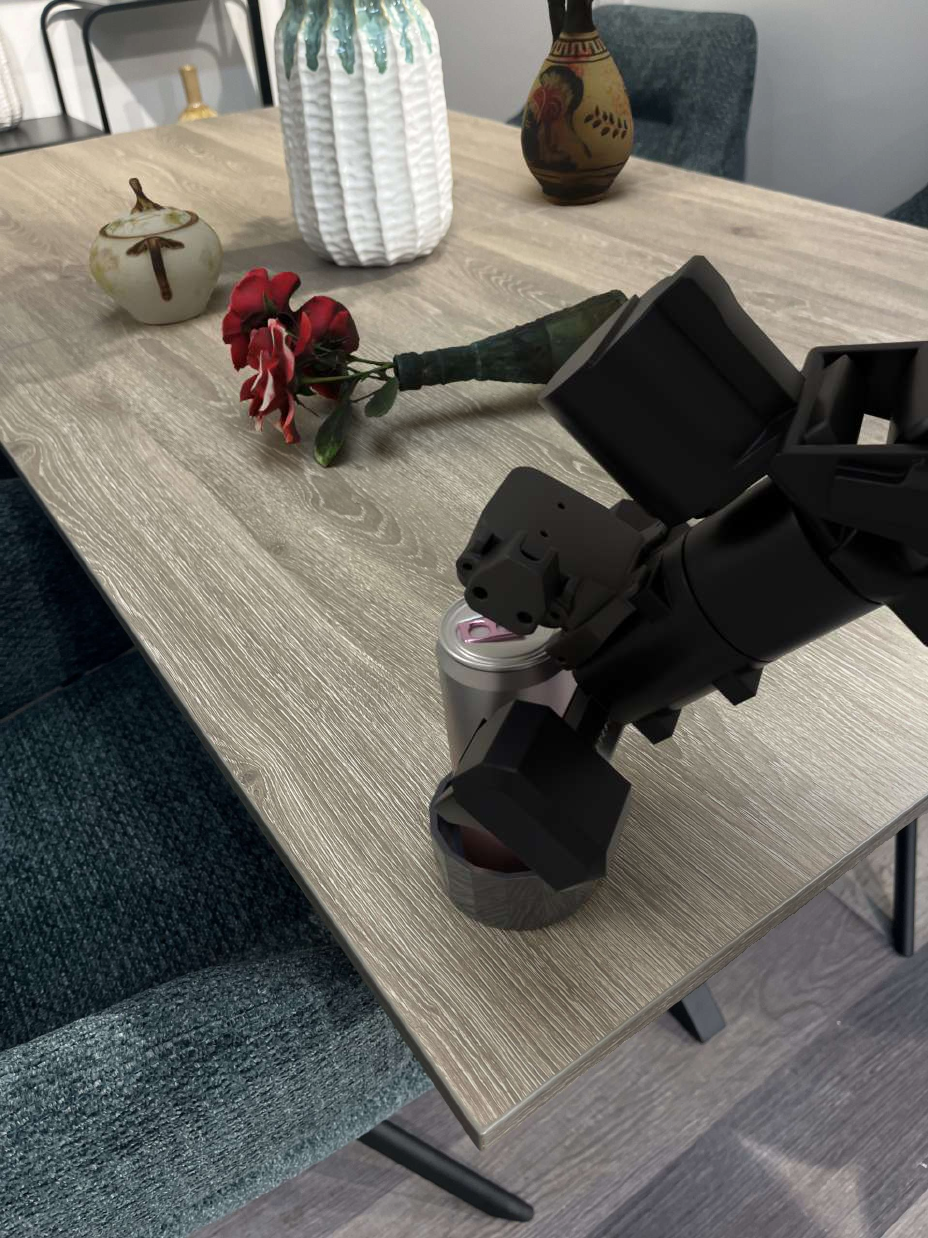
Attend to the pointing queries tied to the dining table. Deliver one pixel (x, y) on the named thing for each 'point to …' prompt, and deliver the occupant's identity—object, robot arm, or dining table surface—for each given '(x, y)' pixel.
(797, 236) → the dining table surface
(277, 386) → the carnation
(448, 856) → the pot
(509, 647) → the beverage can
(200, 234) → the sugar bowl
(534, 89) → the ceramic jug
